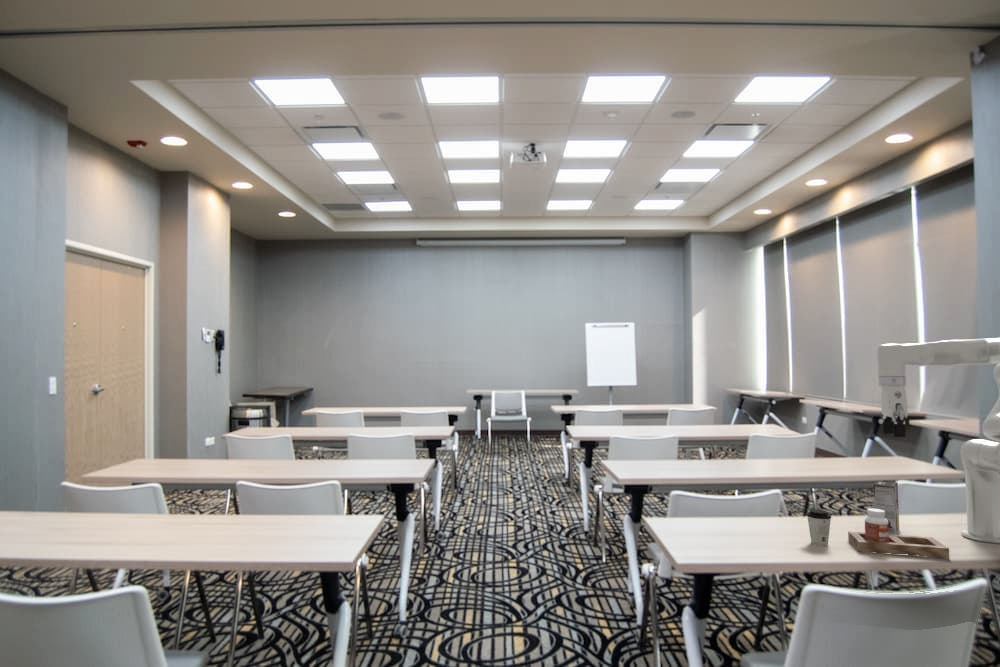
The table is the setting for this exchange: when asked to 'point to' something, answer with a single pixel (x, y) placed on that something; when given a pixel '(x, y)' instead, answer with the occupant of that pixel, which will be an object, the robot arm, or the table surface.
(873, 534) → the pill bottle
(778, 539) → the table surface
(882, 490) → the coffee box
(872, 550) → the holder frame
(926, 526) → the table surface
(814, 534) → the coffee cup
